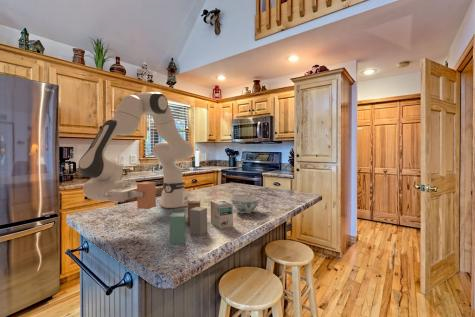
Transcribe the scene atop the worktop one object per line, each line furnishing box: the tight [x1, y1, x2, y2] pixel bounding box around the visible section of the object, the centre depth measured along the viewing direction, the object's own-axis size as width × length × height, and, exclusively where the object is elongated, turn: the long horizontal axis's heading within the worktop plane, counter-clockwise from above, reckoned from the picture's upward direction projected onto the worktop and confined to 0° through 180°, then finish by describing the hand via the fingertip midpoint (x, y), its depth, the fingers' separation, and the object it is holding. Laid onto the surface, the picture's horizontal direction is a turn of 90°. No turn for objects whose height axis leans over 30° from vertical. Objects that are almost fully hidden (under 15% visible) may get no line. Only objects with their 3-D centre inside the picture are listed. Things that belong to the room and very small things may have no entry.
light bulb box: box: [210, 198, 234, 230], centre depth 107 cm, size 11×7×11 cm, turn 30°
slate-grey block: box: [189, 206, 208, 237], centre depth 97 cm, size 5×5×10 cm
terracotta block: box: [136, 181, 157, 210], centre depth 95 cm, size 5×5×10 cm
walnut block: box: [187, 200, 201, 226], centre depth 109 cm, size 5×5×10 cm
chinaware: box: [231, 195, 260, 214], centre depth 128 cm, size 15×15×8 cm
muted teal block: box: [169, 212, 187, 245], centre depth 88 cm, size 5×5×10 cm
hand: (148, 192), depth 95 cm, fingers closed on terracotta block, 5 cm apart
